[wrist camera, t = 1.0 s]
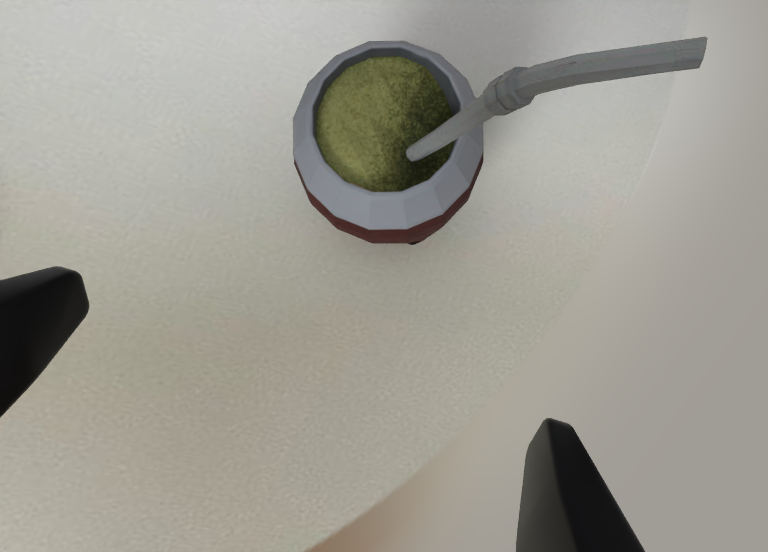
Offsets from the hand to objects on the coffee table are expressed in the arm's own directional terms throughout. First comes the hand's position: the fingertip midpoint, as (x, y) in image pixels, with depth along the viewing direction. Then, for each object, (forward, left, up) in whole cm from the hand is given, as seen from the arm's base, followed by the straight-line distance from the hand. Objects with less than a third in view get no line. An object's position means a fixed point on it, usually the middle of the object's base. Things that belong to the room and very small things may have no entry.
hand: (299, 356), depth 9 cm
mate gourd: (+6, +4, -14) cm, 16 cm away
